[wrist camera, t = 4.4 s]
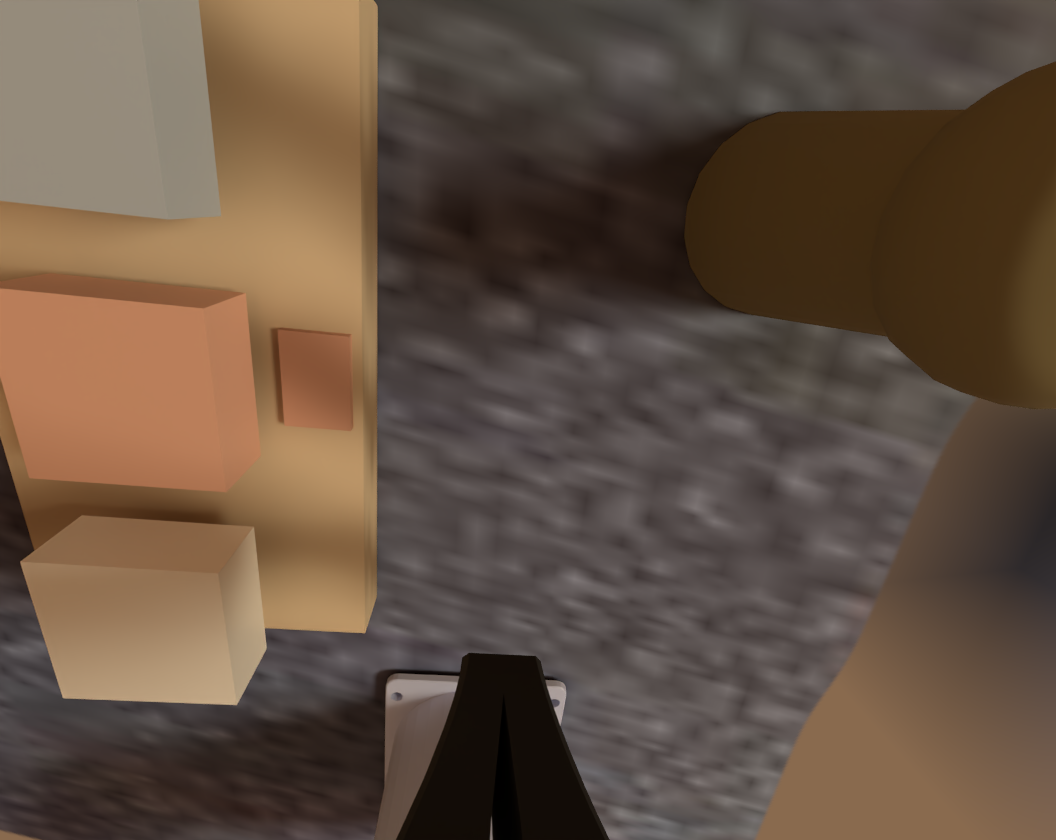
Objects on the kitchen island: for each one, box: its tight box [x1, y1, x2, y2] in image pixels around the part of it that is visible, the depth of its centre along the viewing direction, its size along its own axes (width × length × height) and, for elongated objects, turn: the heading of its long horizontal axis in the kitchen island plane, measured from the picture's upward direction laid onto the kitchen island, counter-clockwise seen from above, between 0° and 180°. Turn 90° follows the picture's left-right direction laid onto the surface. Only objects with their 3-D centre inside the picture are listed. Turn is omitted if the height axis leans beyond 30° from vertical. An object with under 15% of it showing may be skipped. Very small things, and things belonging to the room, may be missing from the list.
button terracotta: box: [0, 273, 261, 492], centre depth 14 cm, size 5×5×2 cm
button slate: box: [0, 0, 221, 219], centre depth 11 cm, size 5×5×2 cm
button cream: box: [20, 515, 267, 705], centre depth 16 cm, size 5×5×2 cm
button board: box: [0, 0, 378, 633], centre depth 16 cm, size 20×11×3 cm, turn 174°
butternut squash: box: [684, 62, 1056, 409], centre depth 12 cm, size 6×6×11 cm
